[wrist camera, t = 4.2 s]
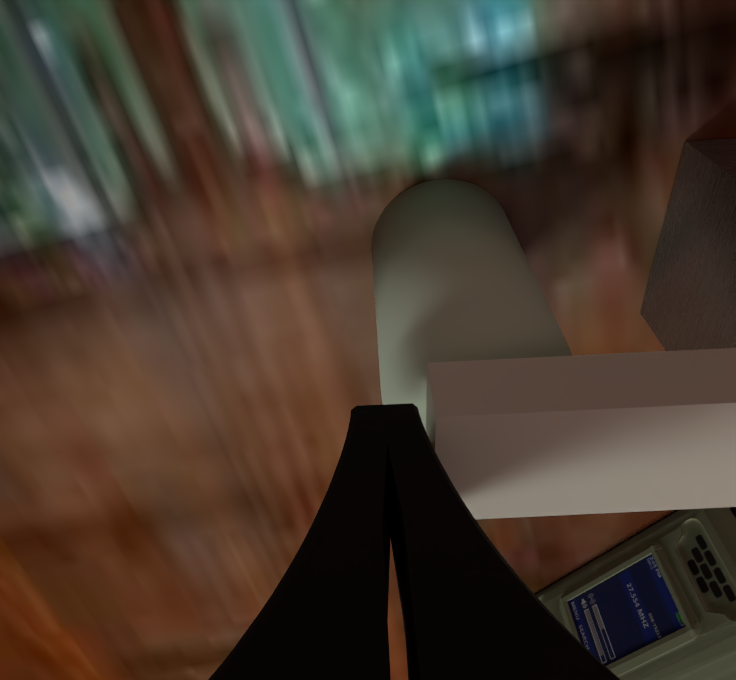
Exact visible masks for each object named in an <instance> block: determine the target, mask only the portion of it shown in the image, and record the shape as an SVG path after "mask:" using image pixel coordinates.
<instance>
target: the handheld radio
mask: <svg viewBox="0 0 736 680" xmlns="http://www.w3.org/2000/svg"><path fill="white" fill-rule="evenodd" d="M536 597H537V598H538V599H539V600H540V601H541V602H542V603H543V604H544V605H545V606H546V608H547V609H548V610H549V611H550V612H551V613H552V614H553V615H554V616H555V618H556V619H557V620H558V621H559V622H560V623H561V624H562V625H563V626H564V627H565V628H566V629H567V630H568V631H569V632H570V633H571V634H572V635H573V636H574V637H575V638H576V639H577V640H578V641H579V642H580V643H581V644H582V645H584V646H585V647H586V648H587V649H588V650H589V651H590V652H591V653H592V654H593V655H594V656H595V657H596V658H597V659H598V660H600V661H601V662H602V663H603V664H604V665H605V666H606V667H607V668H608V669H609V670H611V671H612V672H613V673H614V674H615V675H616V676H617V677H618V678H619V679H621V680H736V507H723V508H702V509H681V510H678V511H676V512H675V513H673V514H671V515H670V516H668V517H666V518H665V519H663V520H661V521H660V522H658V523H656V524H654V525H653V526H651V527H649V528H648V529H646V530H644V531H643V532H641V533H639V534H638V535H636V536H634V537H632V538H631V539H629V540H627V541H626V542H624V543H622V544H621V545H619V546H617V547H616V548H614V549H612V550H610V551H609V552H607V553H605V554H604V555H602V556H600V557H599V558H597V559H595V560H594V561H592V562H590V563H588V564H587V565H585V566H583V567H582V568H580V569H578V570H577V571H575V572H573V573H572V574H570V575H568V576H567V577H565V578H563V579H561V580H560V581H558V582H556V583H555V584H553V585H551V586H550V587H548V588H546V589H545V590H543V591H541V592H539V593H538V594H536Z"/></svg>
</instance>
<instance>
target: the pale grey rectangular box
mask: <svg viewBox="0 0 736 680" xmlns="http://www.w3.org/2000/svg"><path fill="white" fill-rule="evenodd" d="M426 433H427V435H428V437H429V440H430V442H431V444H432V446H433V448H434V450H435V452H436V454H437V456H438V458H439V460H440V462H441V464H442V466H443V467H444V469H445V471H446V473H447V475H448V476H449V478H450V480H451V482H452V483H453V485H454V487H455V489H456V490H457V492H458V494H459V495H460V497H461V498H462V500H463V502H464V503H465V505H466V506H467V508H468V509H469V511H470V512H471V514H472V515H473V517H474V518H475V519H491V518H512V517H534V516H555V515H576V514H597V513H618V512H639V511H660V510H681V509H702V508H723V507H736V348H721V349H700V350H680V351H659V352H638V353H617V354H597V355H576V356H555V357H535V358H514V359H493V360H473V361H452V362H431V363H427V391H426Z"/></svg>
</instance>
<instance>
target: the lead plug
mask: <svg viewBox="0 0 736 680" xmlns="http://www.w3.org/2000/svg"><path fill="white" fill-rule="evenodd" d="M372 261H373V276H374V291H375V306H376V322H377V337H378V352H379V367H380V382H381V395H382V403H383V405H387V404H408V403H413V404H414V405H415V406H416V407H418V411H419V414H420V417H421V420H422V423H423V426H424V428H425V431H426V391H427V363H431V362H452V361H473V360H493V359H514V358H535V357H555V356H572V353H571V351H570V349H569V346H568V344H567V342H566V340H565V338H564V336H563V334H562V332H561V330H560V328H559V325H558V323H557V321H556V319H555V317H554V315H553V313H552V311H551V309H550V307H549V304H548V302H547V300H546V298H545V296H544V294H543V292H542V290H541V288H540V286H539V284H538V281H537V279H536V277H535V275H534V273H533V271H532V269H531V267H530V265H529V263H528V260H527V258H526V256H525V254H524V252H523V250H522V248H521V246H520V244H519V242H518V240H517V237H516V235H515V233H514V231H513V229H512V227H511V225H510V223H509V221H508V219H507V216H506V214H505V212H504V210H503V209H502V207H501V206H500V204H499V203H498V201H497V200H496V199H495V198H494V197H493V196H492V195H491V194H489V193H488V192H487V191H486V190H484V189H482V188H481V187H479V186H477V185H474V184H472V183H469V182H466V181H462V180H456V179H437V180H431V181H427V182H423V183H420V184H418V185H415V186H413V187H411V188H409V189H407V190H405V191H404V192H402V193H401V194H399V195H398V196H397V197H396V198H395V199H393V200H392V201H391V202H390V203H389V205H388V206H387V207H386V208H385V209H384V211H383V212H382V214H381V215H380V217H379V219H378V221H377V223H376V226H375V229H374V232H373V237H372Z"/></svg>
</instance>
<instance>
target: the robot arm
mask: <svg viewBox="0 0 736 680" xmlns="http://www.w3.org/2000/svg"><path fill="white" fill-rule="evenodd" d="M390 537H391V544H392V550H393V557H394V563H395V569H396V576H397V582H398V589H399V595H400V601H401V608H402V614H403V621H404V630H405V638H406V650H407V665H408V680H621V679H619V678H618V677H617V676H616V675H615V674H614V673H613V672H612V671H611V670H609V669H608V668H607V667H606V666H605V665H604V664H603V663H602V662H601V661H600V660H598V659H597V658H596V657H595V656H594V655H593V654H592V653H591V652H590V651H589V650H588V649H587V648H586V647H585V646H584V645H582V644H581V643H580V642H579V641H578V640H577V639H576V638H575V637H574V636H573V635H572V634H571V633H570V632H569V631H568V630H567V629H566V628H565V627H564V626H563V625H562V624H561V623H560V622H559V621H558V620H557V619H556V618H555V616H554V615H553V614H552V613H551V612H550V611H549V610H548V609H547V608H546V606H545V605H544V604H543V603H542V602H541V601H540V600H539V599H538V598H537V597H536V595H535V594H534V593H533V592H532V591H531V590H530V589H529V588H528V587H527V586H526V584H525V583H524V582H523V581H522V580H521V579H520V578H519V576H518V575H517V574H516V573H515V572H514V570H513V569H512V568H511V567H510V565H509V564H508V563H507V562H506V560H505V559H504V558H503V557H502V556H501V554H500V553H499V552H498V550H497V549H496V548H495V546H494V545H493V544H492V542H491V541H490V540H489V538H488V537H487V536H486V534H485V533H484V531H483V530H482V529H481V527H480V526H479V524H478V523H477V521H476V520H475V518H474V517H473V515H472V514H471V512H470V511H469V509H468V508H467V506H466V505H465V503H464V502H463V500H462V498H461V497H460V495H459V494H458V492H457V490H456V489H455V487H454V485H453V483H452V482H451V480H450V478H449V476H448V475H447V473H446V471H445V469H444V467H443V466H442V464H441V462H440V460H439V458H438V456H437V454H436V452H435V450H434V448H433V446H432V444H431V442H430V440H429V437H428V435H427V433H426V431H425V428H424V426H423V423H422V420H421V417H420V414H419V411H418V407H416V406H415V405H414V404H413V403H408V404H387V405H366V406H356V407H355V408H353V409H352V410H351V417H350V423H349V428H348V432H347V436H346V440H345V443H344V447H343V450H342V453H341V456H340V459H339V462H338V465H337V467H336V470H335V473H334V475H333V478H332V481H331V483H330V486H329V488H328V491H327V493H326V495H325V497H324V500H323V502H322V504H321V506H320V508H319V511H318V513H317V515H316V517H315V519H314V522H313V524H312V526H311V528H310V530H309V532H308V534H307V536H306V537H305V539H304V541H303V543H302V545H301V547H300V549H299V550H298V552H297V554H296V556H295V558H294V559H293V561H292V563H291V565H290V566H289V568H288V570H287V571H286V573H285V574H284V576H283V578H282V579H281V581H280V583H279V584H278V586H277V587H276V589H275V591H274V592H273V594H272V595H271V597H270V598H269V600H268V601H267V603H266V604H265V606H264V607H263V609H262V610H261V612H260V613H259V614H258V616H257V617H256V619H255V620H254V621H253V623H252V624H251V625H250V627H249V628H248V630H247V631H246V632H245V634H244V635H243V636H242V638H241V639H240V641H239V642H238V643H237V645H236V646H235V647H234V649H233V650H232V651H231V653H230V654H229V655H228V656H227V658H226V659H225V660H224V662H223V663H222V664H221V665H220V666H219V668H218V669H217V670H216V671H215V672H214V674H213V675H212V676H211V677H210V678H209V680H391V679H390V661H389V642H388V624H387V619H388V590H389V561H390Z"/></svg>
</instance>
